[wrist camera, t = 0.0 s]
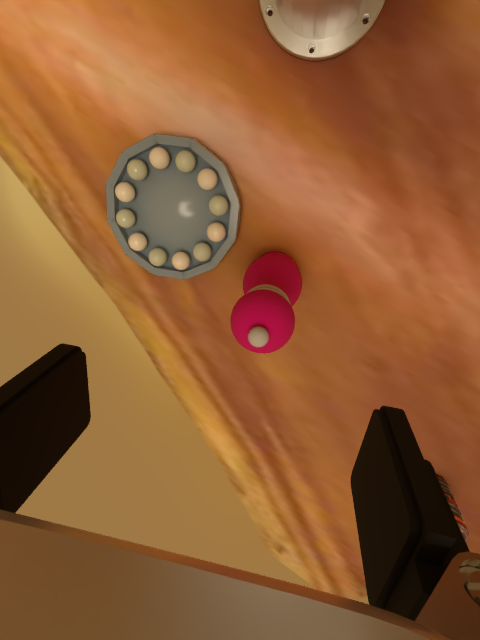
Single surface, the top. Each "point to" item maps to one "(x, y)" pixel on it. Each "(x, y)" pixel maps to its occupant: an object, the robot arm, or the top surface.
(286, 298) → the pepper mill
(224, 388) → the top surface
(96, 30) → the top surface
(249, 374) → the top surface
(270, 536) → the top surface
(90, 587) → the robot arm
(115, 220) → the bead tray
